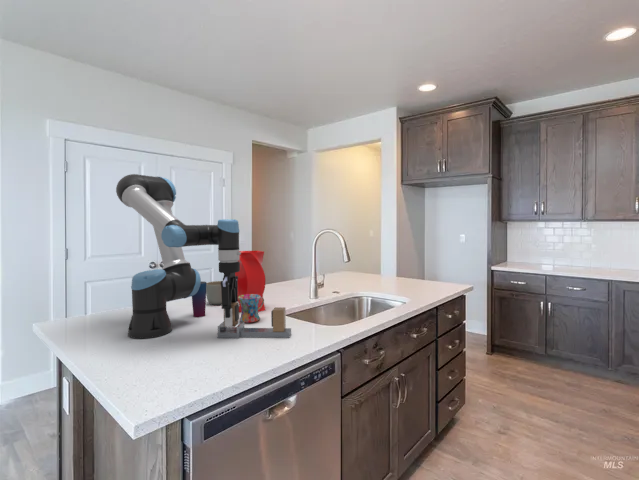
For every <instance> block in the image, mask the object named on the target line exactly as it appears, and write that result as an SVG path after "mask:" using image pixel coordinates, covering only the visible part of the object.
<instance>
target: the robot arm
mask: <svg viewBox="0 0 639 480" xmlns="http://www.w3.org/2000/svg"><path fill="white" fill-rule="evenodd" d="M115 192H116V196H117V198H118V199H119V201H120V202H121V203H122V204H124V205H125V206H126V207H128V208H132V209H133V210H135V211H136V212H137V213H138V215H140V216H141V217H142V218H144V220H146V221H147V222H148V223H149V224H150V225H152V227H153V230H154V231H153V232H154V234H155V238H156V242H157V245H158V250H159V252H160V257H161V260H162V265H163V267H162V268H161V269H160V268H159V269H158V268H157V269H149V270H145V271H140V272H138V273H136V274H134V275H133V276H132V277H131V286H130V287H131V300H132V301H131V303H132V305H131V308H132V315H131V319H130V322H129V324H128V327H127V337H130V338H132V339H150V338H157V337H162V336H164V335H168V334H169V333H170V332H172V330H173V325H172V321H171V319H170V316H169V314H168V311H167V303H168V302H172V301H176V300H180V299H187V298H190V297H192V296H193V295H195V294H196V293H197V292H198V290H199V287H200V284H201V275H200V273H199V271H198V270H197V269H196V268H194V267H193V268H192V265H191V263H190V262H189V261H187V260H186V258H185V255H184V251H183V247H193V246H195V247H196V246H197V247H198V246H218V247H217V250H218V251H217V253H218V257H217V258H218V260H217V261H219V263H218V272H219V273H221V274H222V273H223V277H222V280H220V281H221V293H222V305H221V309H222V310H223V316H224V315H225V326H233V317H232V308H231V302H237V304H239V303H238V276H235V272H239V271H240V262H239V261H238V260H239V255H240V254H241V252H239V251H240V226H239V225H240V224H239V221H238V220H237V219H233V218H232V219H231V218H230V219H225V218H223V219H218V220H217V223H216V224H200V225H199V224H191V225H190V224H185V223H183V222H182V221H181V220H179V219H178V218H177V217H176V216H175V215H174V214H173V212H172V207H173V206H174V202H175V201H176V198H177V196H176V195H177V190H176V187H175V185H174V183H173V182H172V181H171V180H170V179H169V178H166V177H162V176H152V175H144V174H143V175H142V174H137V173H132V174H131V173H130V174H127V175H123V177H121V179H119V181H118V182H117V184H116V188H115Z"/></svg>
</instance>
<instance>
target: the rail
mask: <svg viewBox="0 0 639 480" xmlns="http://www.w3.org/2000/svg"><path fill="white" fill-rule="evenodd" d="M286 316H287V315H286V307H281V306H280V307H279V306H277V307H275V306H274V308H272V310H271V315H270V317H271V327H245V322H244V321H242V322H241V321H240V323H238V324H237V325H236V326H235V327H224V321H222V322H221V323H220V324H219V325H218V326H217V333H216V335H217V339H240V338H251V339H252V338H257V339H259V338H260V339H261V338H263V339H264V338H265V339H267V338H268V339H269V338H270V339H273V338H274V339H289V338H290V337H291V335H292V327H291V328H290V327H288V328H287V327H286V326H287V325H286V322H287V321H286V320H287V318H286Z"/></svg>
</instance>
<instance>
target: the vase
mask: <svg viewBox="0 0 639 480" xmlns="http://www.w3.org/2000/svg"><path fill="white" fill-rule="evenodd" d="M239 252H241V254H240V255H239V260H238V261H239V262H240V271H239V272H235V276H238V297H239V296H241V295H246V294H257V295H260V296H261V297H262V298H264V292H265V288H266V275H265V274H266V273H265V271H264V269H263V263H264V262H263V261H264V255H265V251H263V250H239ZM262 298H260V299H259V303H258V308H259V307H260V306H261V304H262V302H263V299H262ZM238 304H239V313H242V308H241V303H240V300H239V298H238ZM264 311H266V306H265V302H264V303H263V305H262V307H261V308H260V309H259V310H258V313H260V312H264Z"/></svg>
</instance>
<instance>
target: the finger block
mask: <svg viewBox="0 0 639 480" xmlns="http://www.w3.org/2000/svg"><path fill="white" fill-rule="evenodd" d="M231 308H232V317H233V326H225V315H224V314H223V322H224V327H237V326H238V325H239V321H240V312H239V303H238V304H237V302H231Z"/></svg>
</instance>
